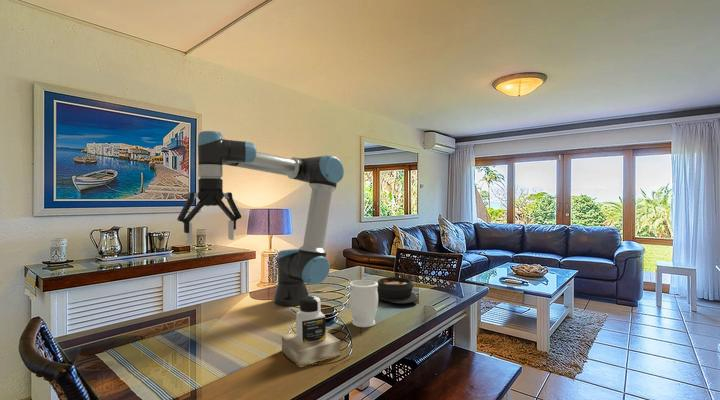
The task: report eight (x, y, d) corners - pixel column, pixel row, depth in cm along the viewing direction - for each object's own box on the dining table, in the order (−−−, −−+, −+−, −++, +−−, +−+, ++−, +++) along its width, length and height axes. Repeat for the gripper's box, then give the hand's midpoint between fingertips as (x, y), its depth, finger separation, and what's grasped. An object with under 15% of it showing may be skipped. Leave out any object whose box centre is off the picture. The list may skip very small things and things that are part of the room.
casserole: (364, 294, 169) (364, 276, 169) (398, 290, 177) (398, 273, 177) (389, 310, 146) (389, 289, 146) (427, 304, 154) (427, 285, 154)
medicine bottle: (302, 344, 102) (301, 303, 102) (296, 335, 109) (295, 296, 108) (326, 339, 105) (325, 299, 105) (318, 330, 112) (317, 293, 111)
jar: (364, 316, 139) (364, 278, 138) (384, 323, 131) (384, 282, 131) (343, 323, 131) (343, 282, 131) (363, 331, 124) (363, 288, 123)
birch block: (319, 342, 116) (319, 327, 116) (340, 357, 105) (340, 340, 105) (281, 352, 109) (281, 336, 108) (299, 369, 98) (299, 351, 98)
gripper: (241, 179, 131) (242, 237, 132) (166, 177, 114) (167, 243, 115) (250, 178, 126) (251, 239, 126) (173, 176, 109) (173, 246, 109)
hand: (211, 241), depth 120 cm, fingers open, 13 cm apart
